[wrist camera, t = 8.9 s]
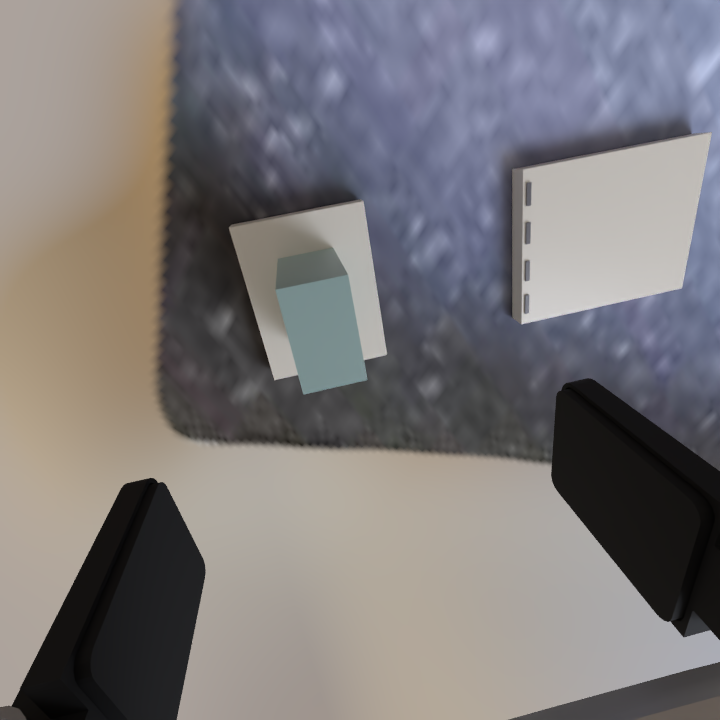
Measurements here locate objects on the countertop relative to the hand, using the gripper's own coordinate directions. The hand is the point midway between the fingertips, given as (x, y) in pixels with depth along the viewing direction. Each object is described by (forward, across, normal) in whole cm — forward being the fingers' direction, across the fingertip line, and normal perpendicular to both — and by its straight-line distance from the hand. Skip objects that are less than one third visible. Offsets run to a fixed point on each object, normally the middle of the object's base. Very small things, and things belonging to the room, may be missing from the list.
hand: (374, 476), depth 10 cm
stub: (+16, +1, 0) cm, 16 cm away
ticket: (+16, -17, 0) cm, 24 cm away
